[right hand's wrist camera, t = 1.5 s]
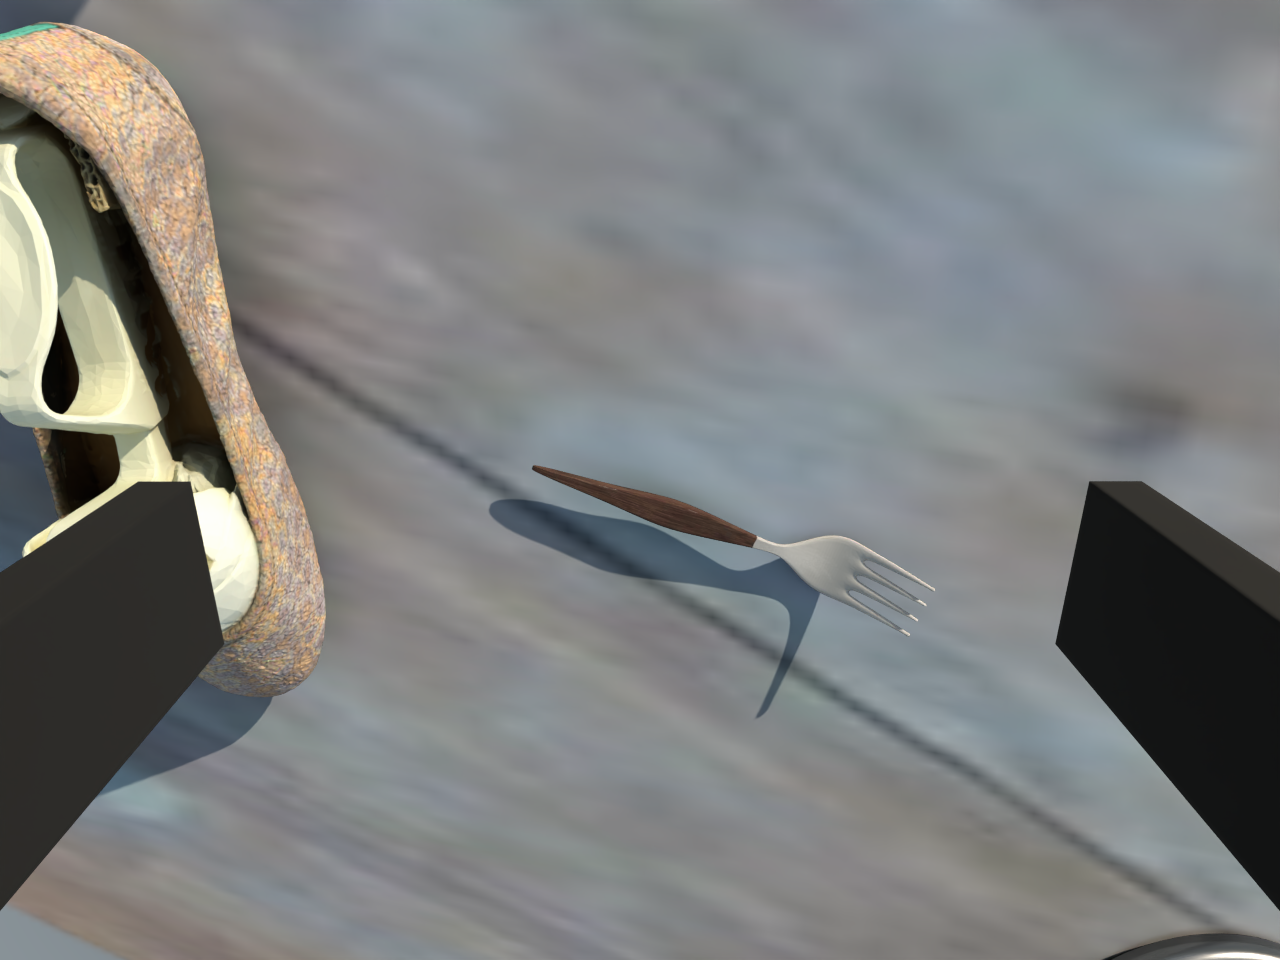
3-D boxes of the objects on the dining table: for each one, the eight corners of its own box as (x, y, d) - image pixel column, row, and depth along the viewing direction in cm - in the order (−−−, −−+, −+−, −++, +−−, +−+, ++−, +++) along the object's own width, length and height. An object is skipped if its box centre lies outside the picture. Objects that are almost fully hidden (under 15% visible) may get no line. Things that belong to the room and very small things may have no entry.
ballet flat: (187, 687, 36) (65, 830, 29) (-61, 60, 28) (-334, 24, 20) (376, 664, 36) (303, 803, 28) (183, 19, 27) (2, -34, 20)
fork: (544, 432, 32) (538, 448, 30) (922, 562, 34) (938, 586, 32) (524, 491, 33) (517, 512, 31) (893, 615, 35) (907, 641, 33)
